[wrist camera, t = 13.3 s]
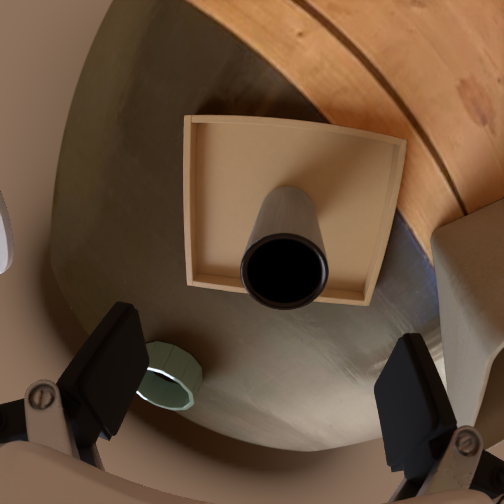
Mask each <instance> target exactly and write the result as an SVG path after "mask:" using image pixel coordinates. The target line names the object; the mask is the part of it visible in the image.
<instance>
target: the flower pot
mask: <svg viewBox="0 0 504 504" xmlns="http://www.w3.org/2000/svg"><path fill="white" fill-rule="evenodd" d="M430 242H431V249H432V255H433V261H434V267H435V275H436V282H437V291H438V301H439V313H440V325H441V337H442V345H443V354H444V363H445V373H446V382H447V392H448V398H449V401H450V403H451V406H452V409H453V412H454V414H455V417H456V420H457V427H458V428H459V427H461V426H464V425H469V426H472V427H474V428H476V429H477V430H478V431H479V432H480V434H481V436H482V438H483V449H484V450H485V451H487V450H489V449H491V448H493V447H495V446H496V445H498V444H500V443H502V442H504V198H503V199H501V200H499V201H497V202H495V203H492V204H490V205H488V206H486V207H484V208H482V209H480V210H477V211H475V212H473V213H471V214H469V215H466V216H464V217H462V218H460V219H458V220H455V221H453V222H451V223H449V224H446V225H444V226H442V227H440V228H437V229H436V230H435V231H434V232H433V233H432V235H431V239H430Z"/></svg>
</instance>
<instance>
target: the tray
mask: <svg viewBox="0 0 504 504" xmlns="http://www.w3.org/2000/svg"><path fill="white" fill-rule="evenodd" d="M406 147H407V140H406V139H402V138H398V137H394V136H389V135H385V134H380V133H376V132H371V131H366V130H361V129H356V128H350V127H344V126H338V125H332V124H325V123H318V122H311V121H302V120H293V119H283V118H272V117H257V116H237V115H185V116H184V152H183V193H184V233H185V255H186V273H187V285H191V286H198V287H204V288H211V289H218V290H226V291H233V292H240V293H248V292H247V291H246V289H245V288H244V286H243V283H242V281H241V277H240V264H241V260H242V257H243V254H244V251H245V248H246V246H247V243H248V240H249V237H250V235H251V232H252V229H253V226H254V224H255V221H256V218H257V215H258V213H259V210H260V207H261V204H262V202H263V200H264V199H265V197H266V196H267V195H268V194H269V193H270V192H271V191H273V190H274V189H276V188H279V187H283V186H292V187H296V188H299V189H301V190H302V191H304V192H305V193H306V194H307V195H308V196H309V197H310V198H311V200H312V202H313V204H314V207H315V211H316V214H317V218H318V222H319V227H320V231H321V235H322V239H323V243H324V248H325V252H326V256H327V261H328V266H329V276H328V281H327V284H326V286H325V288H324V290H323V291H322V293H321V294H320V295H319V296H318V297H317V298H316V299H315V300H314V301H318V302H328V303H339V304H350V305H363V306H369V303H370V300H371V297H372V294H373V291H374V288H375V285H376V282H377V278H378V275H379V272H380V268H381V265H382V261H383V258H384V254H385V251H386V247H387V243H388V239H389V235H390V231H391V227H392V223H393V218H394V214H395V209H396V205H397V200H398V195H399V190H400V185H401V179H402V173H403V167H404V161H405V154H406ZM248 294H249V293H248Z"/></svg>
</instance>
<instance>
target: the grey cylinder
mask: <svg viewBox="0 0 504 504" xmlns="http://www.w3.org/2000/svg"><path fill="white" fill-rule="evenodd" d="M328 276H329V266H328V261H327V256H326V252H325V248H324V243H323V239H322V235H321V231H320V227H319V222H318V218H317V214H316V211H315V207H314V204H313V202H312V200H311V198H310V197H309V196H308V195H307V194H306V193H305V192H304V191H302V190H301V189H299V188H296V187H292V186H283V187H279V188H276V189H274V190H273V191H271V192H270V193H269V194H268V195H267V196H266V197H265V199H264V200H263V202H262V204H261V207H260V210H259V213H258V215H257V218H256V221H255V224H254V226H253V229H252V232H251V235H250V237H249V240H248V243H247V246H246V248H245V251H244V254H243V257H242V260H241V264H240V277H241V281H242V283H243V286H244V288H245V289H246V291H247V292H248V293H249V295H250V296H251V297H252V298H253V299H255V300H256V301H257V302H259V303H260V304H262V305H264V306H267V307H269V308H273V309H278V310H292V309H297V308H301V307H303V306H306V305H308V304H309V303H311V302H312V301H314V300H315V299H316V298H317V297H318V296H319V295H320V294H321V293H322V291H323V290H324V288H325V286H326V284H327V281H328Z"/></svg>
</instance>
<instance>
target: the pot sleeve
mask: <svg viewBox="0 0 504 504" xmlns="http://www.w3.org/2000/svg"><path fill="white" fill-rule="evenodd" d="M146 348H147V352H148V355H149V360H150V362H149V367H148V369H147V371H146V373H145V375H144V377H143V380H142V382H141V384H140V386H139V388H138V390H137V393H138V394H139V395H140V396H141V397H142V398H144V399H145V400H147V401H149V402H151V403H153V404H154V405H156V406H159V407H163V408H166V409H170V410H187V409H188V408H190V407H191V406H192V405H193V404H194V403H195V400H196V397H197V394H198V391H199V388H200V385H201V382H202V379H203V375H202V367H201V366H200V365H199V363H198V362H197V361H196V360H195V359H194V357H193V356H192V355H191V354H189V353H187V352H186V351H184V350H182V349H181V348H179V347H177V346H176V345H175V346H174V345H172V344H168V343H163V342H159V341H155V342H151V343H147V344H146ZM152 371H155V372H159V373H162V374H164V375H166V376H167V377H169V378H171V379H173V380H174V381H176V382H178V383H179V384H176V383H172V382H168V381H166V380H164V379H162V378H161V377H159V376H157V375H156V374H154V373H153V372H152Z"/></svg>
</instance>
